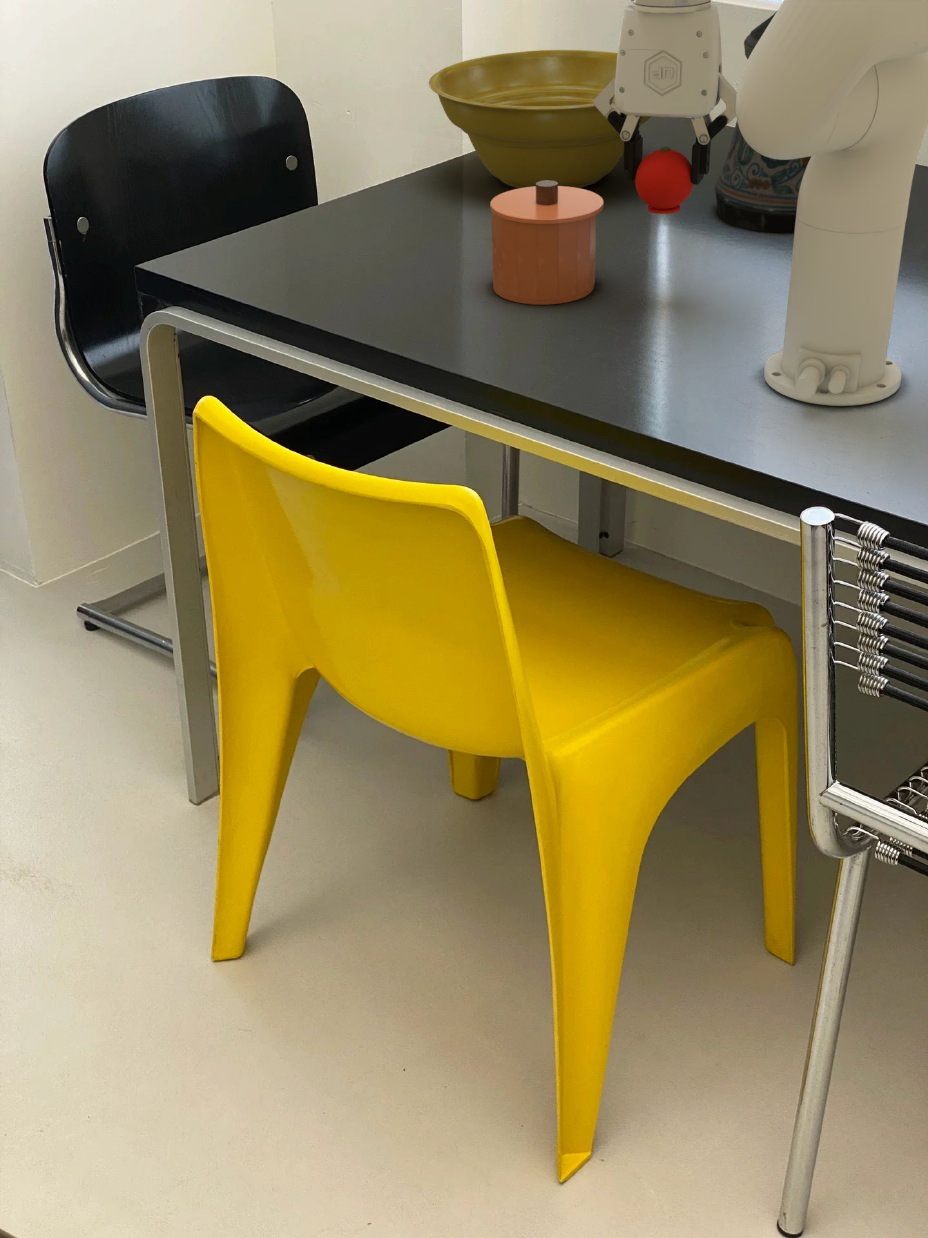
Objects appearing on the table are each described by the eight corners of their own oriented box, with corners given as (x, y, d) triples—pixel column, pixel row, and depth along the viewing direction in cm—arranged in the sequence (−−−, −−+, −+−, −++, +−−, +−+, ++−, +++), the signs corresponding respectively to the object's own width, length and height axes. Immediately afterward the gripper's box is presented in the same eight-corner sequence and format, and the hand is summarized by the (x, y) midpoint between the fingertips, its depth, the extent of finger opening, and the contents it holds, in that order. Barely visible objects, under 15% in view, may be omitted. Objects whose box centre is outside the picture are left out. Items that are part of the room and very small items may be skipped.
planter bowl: (568, 229, 175) (569, 116, 168) (384, 184, 194) (378, 81, 186) (716, 170, 194) (722, 67, 187) (536, 134, 213) (536, 40, 206)
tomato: (685, 218, 145) (687, 155, 141) (628, 215, 146) (629, 153, 143) (698, 202, 149) (700, 141, 146) (642, 200, 151) (643, 139, 148)
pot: (577, 308, 152) (578, 226, 147) (479, 299, 156) (477, 217, 151) (605, 274, 161) (607, 195, 156) (512, 265, 164) (511, 187, 159)
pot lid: (587, 233, 147) (588, 203, 145) (475, 225, 150) (475, 195, 149) (615, 199, 157) (615, 170, 155) (509, 192, 160) (509, 164, 158)
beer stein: (729, 189, 187) (743, -17, 173) (880, 201, 181) (907, -11, 167) (699, 227, 174) (713, 8, 160) (861, 241, 168) (889, 15, 154)
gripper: (575, -5, 137) (575, 184, 147) (754, -2, 132) (742, 193, 141) (596, -17, 143) (595, 165, 153) (768, -15, 138) (756, 174, 147)
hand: (666, 177), depth 147 cm, fingers closed on tomato, 5 cm apart
